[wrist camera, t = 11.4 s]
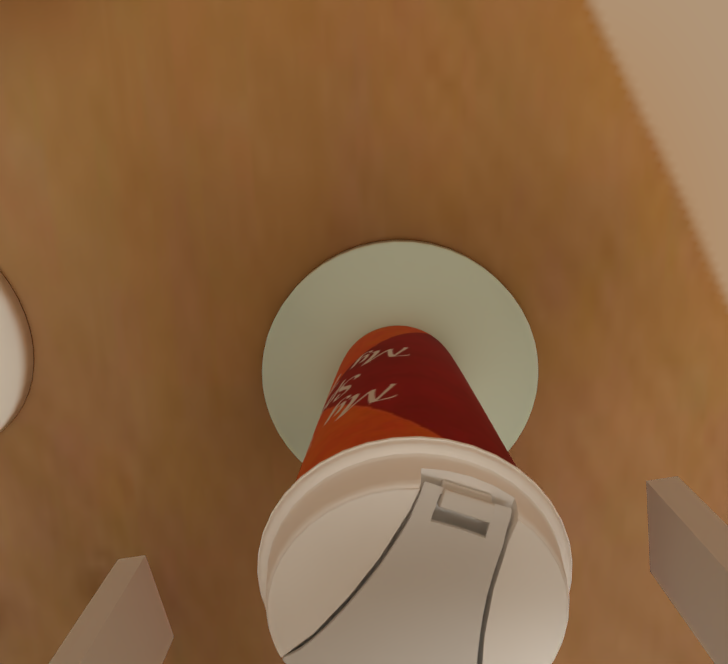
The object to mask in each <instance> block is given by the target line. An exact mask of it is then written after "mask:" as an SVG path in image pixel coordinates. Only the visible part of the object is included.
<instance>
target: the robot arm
mask: <svg viewBox="0 0 728 664" xmlns="http://www.w3.org/2000/svg"><path fill="white" fill-rule="evenodd" d="M646 485H647V509H648V532H649V555H650V572H651V573H652V575H653V576H654V578H655V579H656V581H657V582H658V583H659V585H660V586H661V588H662V589H663V591H664V592H665V593H666V595H667V596H668V598H669V599H670V601H671V602H672V603H673V605H674V606H675V608H676V609H677V611H678V612H679V613H680V615H681V616H682V618H683V619H684V621H685V622H686V623H687V625H688V626H689V628H690V629H691V630H692V632H693V633H694V635H695V636H696V638H697V639H698V640H699V642H700V643H701V645H702V646H703V648H704V649H705V650H706V652H707V653H708V655H709V656H710V658H711V659H712V660H713V662H714V663H715V664H728V526H727V525H726V524H725V523H724V522H723V521H722V520H721V519H720V518H719V517H718V516H717V515H716V514H715V513H714V512H713V511H712V510H711V509H710V508H709V507H708V506H707V505H706V504H705V503H704V502H703V501H702V500H701V499H700V498H699V497H698V496H697V495H696V494H695V493H694V492H693V491H692V490H691V489H690V488H689V487H688V486H687V485H686V484H685V483H684V482H683V481H682V480H681V479H680V478H679V477H678V476H677V477H670V478H663V479H656V480H650V481H646ZM173 638H174V635H173V632H172V630H171V627H170V624H169V621H168V618H167V615H166V612H165V610H164V607H163V604H162V601H161V598H160V595H159V592H158V590H157V587H156V584H155V581H154V578H153V575H152V572H151V570H150V567H149V564H148V561H147V558H146V555H143V556H136V557H130V558H123V559H118V560H117V562H116V563H115V565H114V566H113V568H112V569H111V571H110V572H109V574H108V575H107V577H106V578H105V580H104V581H103V583H102V584H101V586H100V587H99V589H98V590H97V592H96V593H95V595H94V596H93V598H92V599H91V601H90V602H89V604H88V605H87V607H86V608H85V610H84V611H83V613H82V614H81V616H80V617H79V619H78V620H77V622H76V623H75V625H74V626H73V628H72V629H71V631H70V632H69V634H68V635H67V637H66V638H65V640H64V641H63V643H62V644H61V646H60V647H59V649H58V650H57V652H56V653H55V655H54V656H53V658H52V659H51V661H50V662H49V664H163V661H164V659H165V657H166V654H167V652H168V650H169V647H170V645H171V643H172V640H173Z"/></svg>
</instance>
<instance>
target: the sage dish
mask: <svg viewBox="0 0 728 664" xmlns="http://www.w3.org/2000/svg"><path fill="white" fill-rule="evenodd" d="M387 326H409V327H413V328H417V329H420V330H422V331H424V332H427V333H428V334H430V335H432V336H433V337H434V338H436V339H437V340H438V341H439V342H440V343H441V344H442V345H443V346H444V347H445V348H446V349H447V350H448V352H449V353H450V354H451V356H452V357H453V359H454V361H455V362H456V364H457V365H458V367H459V368H460V370H461V372H462V373H463V375H464V377H465V379H466V380H467V382H468V384H469V385H470V387H471V389H472V390H473V392H474V394H475V396H476V397H477V399H478V401H479V402H480V404H481V406H482V408H483V409H484V411H485V413H486V415H487V416H488V418H489V420H490V422H491V423H492V425H493V427H494V429H495V430H496V432H497V434H498V435H499V437H500V439H501V441H502V442H503V444H504V446H505V448H506V449H507V451H509V450H510V448H511V447H512V446H513V444H514V443H515V442H516V440H517V439H518V437H519V436H520V434H521V432H522V430H523V429H524V427H525V425H526V423H527V421H528V418H529V416H530V413H531V411H532V408H533V404H534V400H535V396H536V392H537V383H538V357H537V351H536V345H535V341H534V338H533V335H532V331H531V328H530V325H529V323H528V321H527V319H526V317H525V315H524V313H523V311H522V309H521V308H520V306H519V305H518V303H517V302H516V300H515V299H514V298H513V296H512V295H511V294H510V292H509V291H508V290H507V289H506V288H505V287H504V286H503V285H502V284H501V283H500V282H499V281H498V280H497V279H496V278H495V277H494V276H493V275H492V274H491V273H490V272H488V271H487V270H486V269H485V268H484V267H482V266H481V265H480V264H478V263H477V262H475V261H473V260H472V259H470V258H468V257H467V256H465V255H463V254H461V253H459V252H456V251H454V250H452V249H450V248H447V247H444V246H440V245H437V244H433V243H429V242H423V241H416V240H385V241H376V242H372V243H368V244H364V245H360V246H356V247H354V248H351V249H349V250H346V251H343V252H341V253H339V254H337V255H335V256H334V257H332V258H330V259H328V260H326V261H325V262H323V263H322V264H321V265H319V266H318V267H317V268H315V269H314V270H313V271H311V272H310V273H309V274H308V275H307V276H306V277H305V278H304V279H303V280H302V281H301V282H300V283H299V284H298V285H297V286H296V287H295V289H294V290H293V291H292V293H291V294H290V295H289V297H288V298H287V299H286V301H285V302H284V303H283V305H282V306H281V308H280V310H279V312H278V313H277V315H276V317H275V319H274V321H273V323H272V326H271V328H270V331H269V333H268V336H267V340H266V344H265V348H264V353H263V363H262V382H263V390H264V396H265V401H266V405H267V408H268V411H269V414H270V417H271V419H272V421H273V423H274V425H275V427H276V429H277V431H278V433H279V435H280V436H281V438H282V439H283V441H284V442H285V444H286V445H287V447H288V448H289V449H290V450H291V451H292V453H293V454H294V455H295V456H296V457H297V458H298V459H299V460H300V461H301V462H302V463H303V461H304V458H305V455H306V453H307V450H308V447H309V445H310V442H311V439H312V437H313V434H314V431H315V429H316V426H317V423H318V421H319V418H320V415H321V413H322V410H323V408H324V405H325V402H326V400H327V397H328V394H329V392H330V389H331V387H332V384H333V382H334V379H335V377H336V374H337V372H338V370H339V367H340V365H341V363H342V361H343V359H344V357H345V355H346V354H347V352H348V351H349V349H350V348H351V347H352V346H353V345H354V344H355V343H356V342H357V341H358V340H359V339H360V338H362V337H363V336H364V335H366V334H368V333H370V332H372V331H374V330H376V329H379V328H383V327H387Z"/></svg>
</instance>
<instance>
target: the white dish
mask: <svg viewBox="0 0 728 664" xmlns="http://www.w3.org/2000/svg"><path fill="white" fill-rule="evenodd" d="M33 367H34V356H33V344H32V338H31V332H30V329H29V326H28V322H27V319H26V316H25V313H24V311H23V309H22V307H21V304H20V302H19V300H18V298H17V296H16V294H15V293H14V291H13V289H12V288H11V286H10V284H9V283H8V281H7V280H6V279H5V277H4V276H3V275H2V273H1V272H0V432H1V431H2V430H4V429H5V428H6V427H7V426H8V425H9V424H10V423H11V422H12V420H13V419H14V418H15V417H16V416H17V414H18V412H19V411H20V409H21V408H22V406H23V404H24V402H25V400H26V397H27V395H28V393H29V389H30V385H31V381H32V376H33Z"/></svg>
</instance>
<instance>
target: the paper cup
mask: <svg viewBox="0 0 728 664" xmlns="http://www.w3.org/2000/svg"><path fill="white" fill-rule="evenodd" d="M257 575H258V581H259V588H260V594H261V597H262V600H263V603H264V605H265V608H266V614H267V621H268V628H269V631H270V634H271V637H272V639H273V642H274V645H275V647H276V650H277V652H278V653H279V655H280V657H283V661H284V662H285V663H286V664H552V662H553V661H554V659H555V657H556V655H557V653H558V651H559V648H560V646H561V644H562V642H563V639H564V635H565V631H566V627H567V623H568V616H569V591H570V586H571V579H572V556H571V549H570V542H569V539H568V536H567V533H566V530H565V527H564V524H563V522H562V520H561V518H560V516H559V514H558V513H557V511H556V509H555V507H554V506H553V504H552V502H551V500H550V499H549V498H548V497H547V496H546V495H545V493H544V492H543V491H542V490H541V489H540V487H539V486H538V485H537V484H536V483H535V482H534V481H533V480H532V479H530V478H529V477H528V476H527V475H526V474H525V473H523V472H522V471H521V470H520V469H519V468H517V467H516V465H515V463H514V462H513V460H512V458H511V456H510V455H509V453H508V451H507V449H506V448H505V446H504V444H503V442H502V441H501V439H500V437H499V435H498V434H497V432H496V430H495V429H494V427H493V425H492V423H491V422H490V420H489V418H488V416H487V415H486V413H485V411H484V409H483V408H482V406H481V404H480V402H479V401H478V399H477V397H476V396H475V394H474V392H473V390H472V389H471V387H470V385H469V384H468V382H467V380H466V379H465V377H464V375H463V373H462V372H461V370H460V368H459V367H458V365H457V364H456V362H455V361H454V359H453V357H452V356H451V354H450V353H449V352H448V350H447V349H446V348H445V347H444V346H443V345H442V344H441V343H440V342H439V341H438V340H437V339H436V338H434V337H433V336H432V335H430V334H428V333H427V332H424V331H422V330H420V329H417V328H413V327H409V326H387V327H383V328H379V329H376V330H374V331H372V332H370V333H368V334H366V335H364V336H363V337H362V338H360V339H359V340H358V341H357V342H356V343H355V344H354V345H353V346H352V347H351V348H350V349H349V351H348V352H347V354H346V355H345V357H344V359H343V361H342V363H341V365H340V367H339V370H338V372H337V374H336V377H335V379H334V382H333V384H332V387H331V389H330V392H329V394H328V397H327V400H326V402H325V405H324V408H323V410H322V413H321V415H320V418H319V421H318V423H317V426H316V429H315V431H314V434H313V437H312V439H311V442H310V445H309V447H308V450H307V453H306V455H305V458H304V461H303V463H302V466H301V469H300V471H299V474H298V476H297V479H296V482H295V483H294V484H293V485H292V486H291V487H290V488H289V489H288V490H287V491H286V492H285V493H284V495H283V496H282V498H281V499H280V501H279V502H278V503H277V505H276V506H275V508H274V509H273V511H272V513H271V515H270V517H269V519H268V522H267V524H266V526H265V529H264V531H263V534H262V538H261V543H260V547H259V551H258V568H257Z"/></svg>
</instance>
